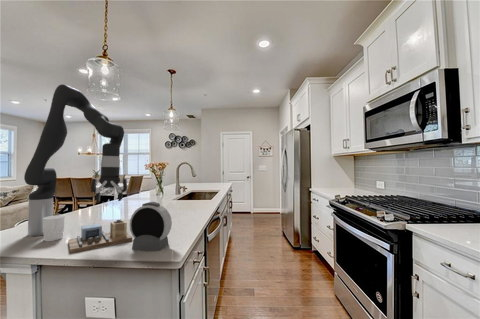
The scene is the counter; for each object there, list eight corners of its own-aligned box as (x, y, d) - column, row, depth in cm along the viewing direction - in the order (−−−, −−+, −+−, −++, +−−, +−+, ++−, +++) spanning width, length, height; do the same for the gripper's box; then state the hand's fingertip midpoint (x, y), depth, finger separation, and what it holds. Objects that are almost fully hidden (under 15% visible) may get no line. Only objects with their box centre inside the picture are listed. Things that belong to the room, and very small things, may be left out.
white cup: (51, 242, 98) (52, 219, 98) (37, 241, 99) (37, 218, 99) (68, 236, 105) (69, 215, 106) (55, 235, 107) (55, 214, 107)
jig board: (68, 243, 97) (68, 223, 97) (124, 233, 111) (124, 216, 111) (70, 253, 85) (70, 230, 85) (132, 240, 99) (132, 221, 99)
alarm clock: (124, 250, 88) (125, 203, 89) (139, 241, 98) (140, 200, 99) (163, 252, 86) (163, 204, 86) (174, 243, 96) (174, 200, 97)
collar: (110, 235, 103) (110, 222, 103) (123, 232, 106) (123, 220, 106) (112, 238, 98) (112, 224, 99) (126, 235, 102) (126, 222, 102)
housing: (81, 237, 99) (81, 226, 99) (99, 234, 104) (99, 223, 104) (82, 240, 94) (82, 229, 95) (101, 237, 99) (101, 226, 99)
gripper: (128, 166, 109) (127, 199, 108) (95, 165, 105) (94, 200, 104) (126, 166, 102) (124, 202, 101) (90, 165, 97) (88, 202, 97)
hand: (109, 201), depth 103 cm, fingers open, 8 cm apart
